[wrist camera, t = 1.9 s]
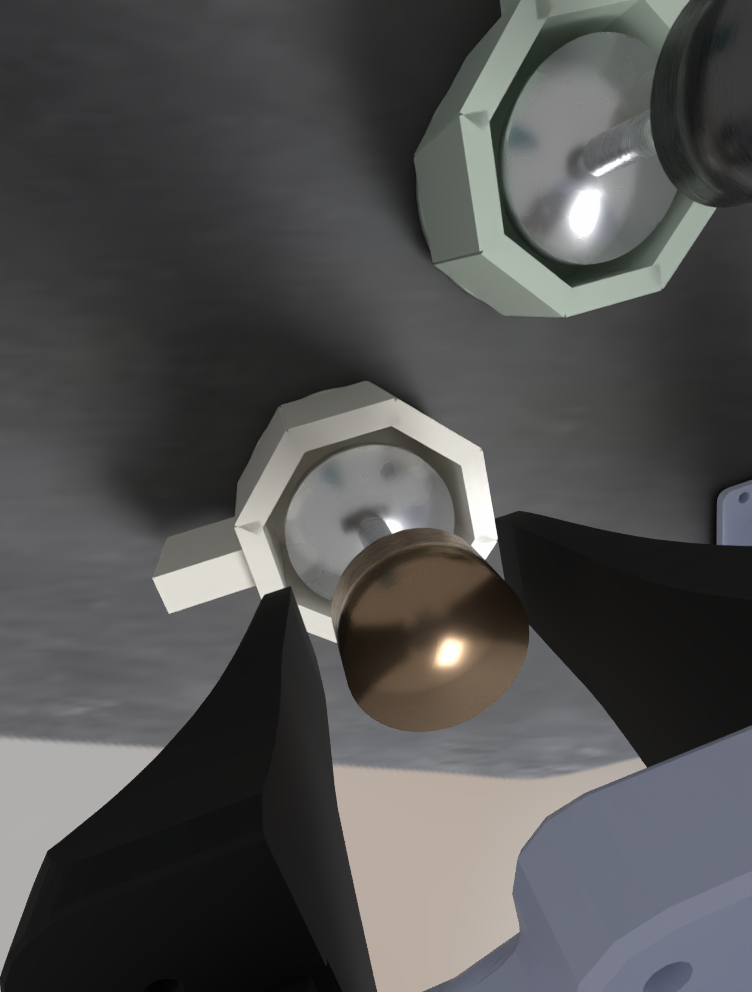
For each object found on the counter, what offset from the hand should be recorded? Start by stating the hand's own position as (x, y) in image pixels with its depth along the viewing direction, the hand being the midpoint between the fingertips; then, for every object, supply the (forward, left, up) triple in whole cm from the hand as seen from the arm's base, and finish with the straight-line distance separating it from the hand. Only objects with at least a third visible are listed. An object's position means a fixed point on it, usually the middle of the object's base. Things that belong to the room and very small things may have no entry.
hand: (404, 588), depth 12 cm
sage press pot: (-8, -9, -7) cm, 14 cm away
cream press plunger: (0, 0, -4) cm, 4 cm away
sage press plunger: (-8, -8, -4) cm, 12 cm away
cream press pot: (+1, 0, -7) cm, 8 cm away
